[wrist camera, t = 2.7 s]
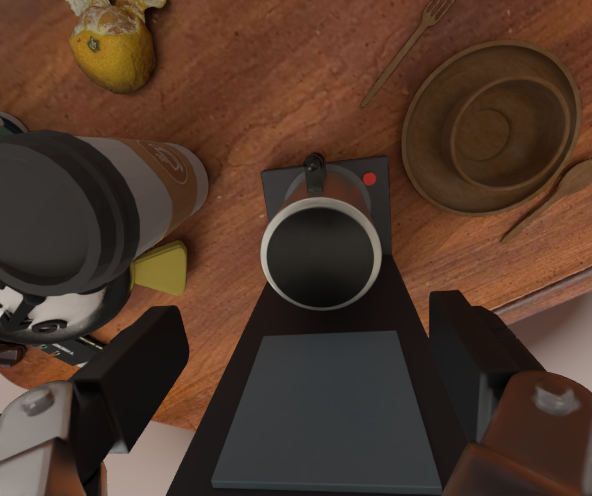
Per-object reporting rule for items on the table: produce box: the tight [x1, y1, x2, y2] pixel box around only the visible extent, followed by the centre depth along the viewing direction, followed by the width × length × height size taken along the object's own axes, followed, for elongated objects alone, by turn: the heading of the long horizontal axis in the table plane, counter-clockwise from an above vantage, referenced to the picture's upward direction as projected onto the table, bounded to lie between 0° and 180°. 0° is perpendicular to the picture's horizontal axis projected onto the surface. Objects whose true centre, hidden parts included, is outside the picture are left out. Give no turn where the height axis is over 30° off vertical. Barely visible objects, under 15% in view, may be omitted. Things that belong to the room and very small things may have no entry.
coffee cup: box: [0, 130, 209, 297], centre depth 22 cm, size 8×8×15 cm
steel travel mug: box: [260, 149, 382, 311], centre depth 21 cm, size 8×6×11 cm
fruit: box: [66, 0, 167, 94], centre depth 24 cm, size 8×8×4 cm
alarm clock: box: [0, 240, 187, 345], centre depth 27 cm, size 12×15×15 cm
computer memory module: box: [32, 336, 104, 367], centre depth 36 cm, size 15×1×4 cm
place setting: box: [360, 0, 592, 244], centre depth 21 cm, size 18×20×6 cm
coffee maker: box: [166, 155, 469, 496], centre depth 18 cm, size 12×10×24 cm
